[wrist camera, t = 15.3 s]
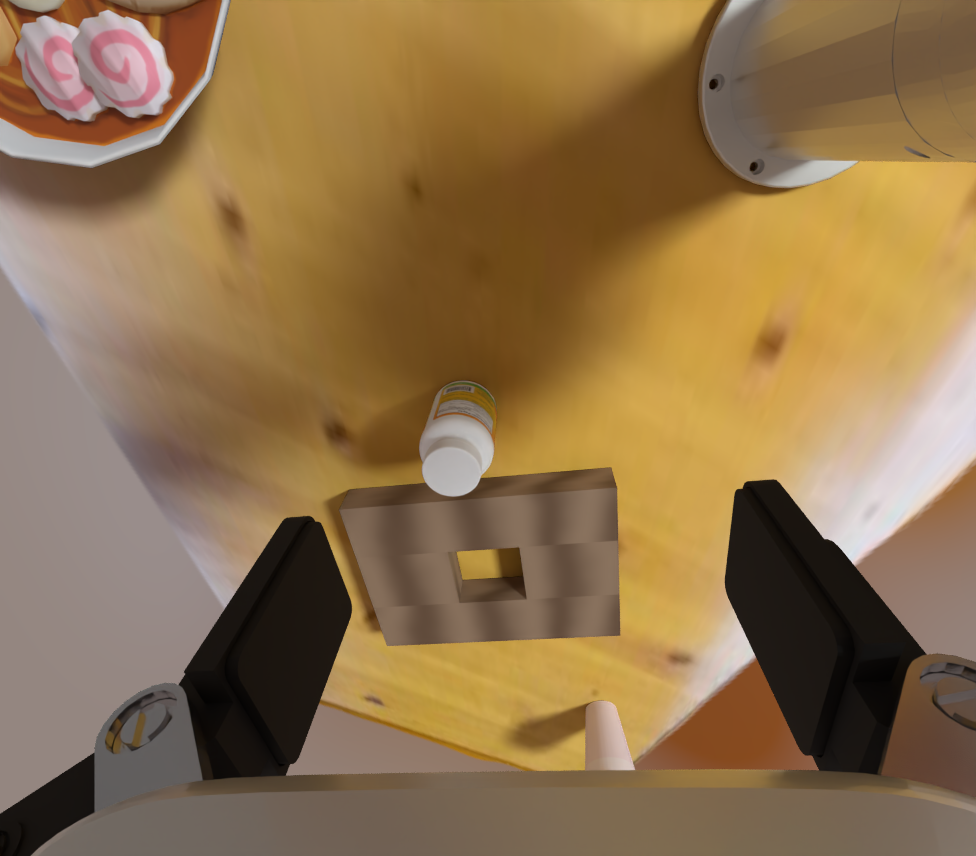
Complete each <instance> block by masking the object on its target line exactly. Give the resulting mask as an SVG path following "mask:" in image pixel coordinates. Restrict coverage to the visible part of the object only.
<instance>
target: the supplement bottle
mask: <svg viewBox="0 0 976 856" xmlns="http://www.w3.org/2000/svg"><path fill="white" fill-rule="evenodd" d="M496 421H497V407H496V403H495V400H494V398H493V396H492V395H491V394H490V392H489V391H488V390H487V389H486V388H484V387H483V386H481V385H480V384H478V383H475V382H471V381H455V382H452V383H449V384H447V385H446V386H444V387H443V388H442V389H441V390H440V391H439V392H438V393H437V395H436V397H435V399H434V401H433V404H432V407H431V410H430V413H429V416H428V419H427V421H426V424H425V427H424V430H423V433H422V436H421V439H420V445H419V452H420V457H421V460H422V462H423V465H422V475H423V478H424V480H425V482H426V483H427V485H428V486H429V487H430V488H431V489H432V490H434V491H435V492H437V493H439V494H442V495H445V496H461V495H464V494H467V493H469V492H470V491H472V490H473V489H474V488H475V487H476V486H477V485H478V483H479V481H480V478H481V475H482V474H483V473H484V472H485V471H486V470H487V469H488V467H489V466H490V464H491V462H492V459H493V454H494V445H495V432H496Z"/></svg>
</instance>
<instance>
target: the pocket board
mask: <svg viewBox="0 0 976 856" xmlns="http://www.w3.org/2000/svg"><path fill="white" fill-rule="evenodd" d="M339 511H340V514H341V517H342V520H343V523H344V525H345V528H346V531H347V534H348V537H349V540H350V542H351V545H352V548H353V551H354V554H355V557H356V559H357V562H358V565H359V568H360V571H361V573H362V576H363V579H364V582H365V585H366V588H367V590H368V593H369V596H370V599H371V602H372V605H373V607H374V610H375V613H376V616H377V619H378V622H379V624H380V627H381V630H382V633H383V636H384V639H385V641H386V644H387V646H398V645H420V644H442V643H464V642H486V641H508V640H531V639H553V638H575V637H597V636H619V635H620V604H619V558H618V513H617V486H616V483H615V479H614V476H613V472H612V469H611V468H599V469H588V470H576V471H564V472H552V473H540V474H528V475H517V476H505V477H493V478H481V479H480V481H479V483H478V485H477V486H476V487H475V488H474V489H473V490H472V491H470V492H469V493H467V494H464V495H461V496H445V495H442V494H439V493H437V492H435V491H434V490H432V489H431V488H430V487H429V486H428V485H427V483H422V484H410V485H398V486H386V487H375V488H363V489H351V490H349V491H348V493H347V495H346V497H345V499H344V501H343V503H342V505H341V507H340V509H339ZM516 547H519V549H520V556H521V563H522V569H523V577H507V578H490V579H473V580H462V575H461V571H460V567H459V562H458V558H457V553H456V551H471V550H486V549H501V548H516Z"/></svg>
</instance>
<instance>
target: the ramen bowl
mask: <svg viewBox="0 0 976 856" xmlns="http://www.w3.org/2000/svg"><path fill="white" fill-rule="evenodd" d="M230 2H231V0H0V151H1V152H2V153H4V154H6V155H8V156H10V157H12V158H19V159H27V160H34V161H42V162H50V163H57V164H65V165H72V166H80V167H87V168H93V167H96V166H99V165H102V164H105V163H108V162H111V161H113V160H116V159H119V158H122V157H125V156H128V155H130V154H133V153H136V152H139V151H142V150H145V149H147V148H150V147H153V146H156V145H159V144H161V142H162V141H163V140H164V138H165V137H166V136H167V135H168V133H169V132H170V131H171V129H172V128H173V127H174V126H175V124H176V123H177V122H178V120H179V119H180V118H181V117H182V115H183V114H184V113H185V111H186V110H187V109H188V108H189V106H190V105H191V104H192V102H193V101H194V100H195V99H196V97H197V96H198V95H199V93H200V92H201V91H202V90H203V88H204V87H205V86H206V84H207V83H208V82H209V80H210V79H211V77H212V75H213V72H214V68H215V64H216V60H217V56H218V52H219V47H220V43H221V39H222V35H223V31H224V27H225V22H226V18H227V14H228V10H229V6H230Z"/></svg>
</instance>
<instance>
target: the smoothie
mask: <svg viewBox="0 0 976 856" xmlns="http://www.w3.org/2000/svg"><path fill="white" fill-rule="evenodd" d="M585 770H635V768H634V765H633V762H632V759H631V755H630V752H629V749H628V745H627V742H626V739H625V735H624V732H623V729H622V725H621V722H620V719H619V715H618V712H617V709H616V706H615V705H614V704H612V703H611V702H608V701H595V702H592V703H590V704H589V705H588V706H587V707H586V731H585Z"/></svg>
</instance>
